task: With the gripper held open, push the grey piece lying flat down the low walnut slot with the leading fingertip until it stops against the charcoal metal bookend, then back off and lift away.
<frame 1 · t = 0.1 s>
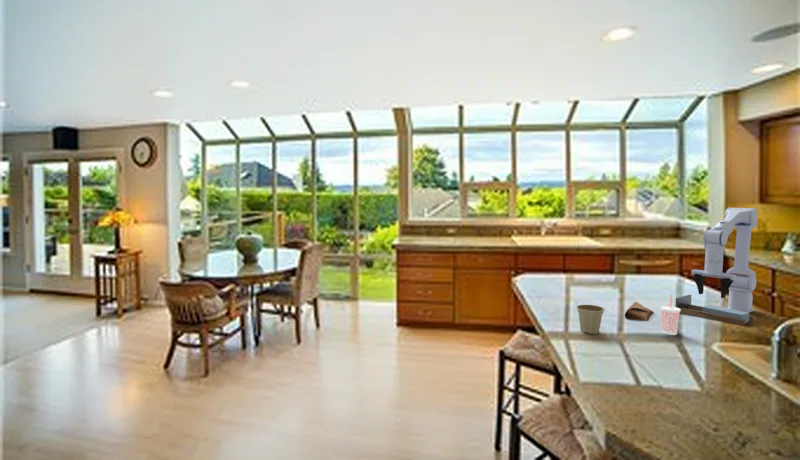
hand: (711, 295, 176), 10 cm above the counter, tool pointing down, fingers open, 7 cm apart
beverage cup: (669, 333, 162), on the counter
bookend: (683, 310, 193), on the counter
flower pot: (589, 331, 164), on the counter
sunglasses case: (639, 316, 186), on the counter
grey piece: (724, 319, 181), on the counter
shelf walls: (715, 316, 183), on the counter
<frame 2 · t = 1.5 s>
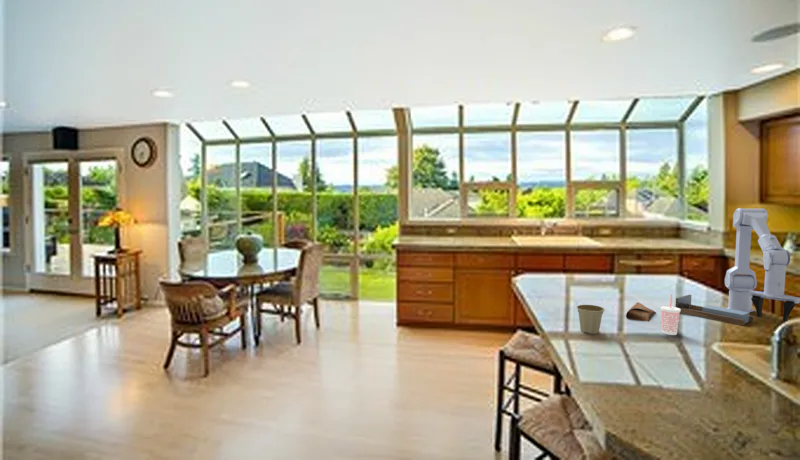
hand: (772, 318, 168), 4 cm above the counter, tool pointing down, fingers open, 7 cm apart
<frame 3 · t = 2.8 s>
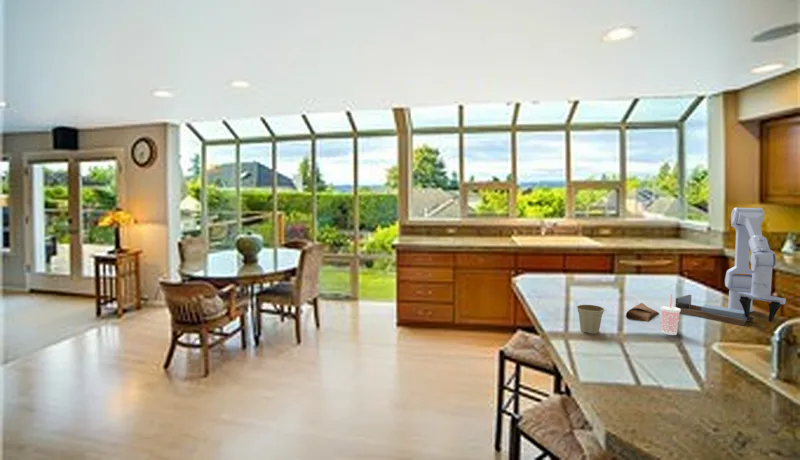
hand: (758, 319, 171), 2 cm above the counter, tool pointing down, fingers open, 7 cm apart
grey piece: (723, 318, 181), on the counter, touching gripper
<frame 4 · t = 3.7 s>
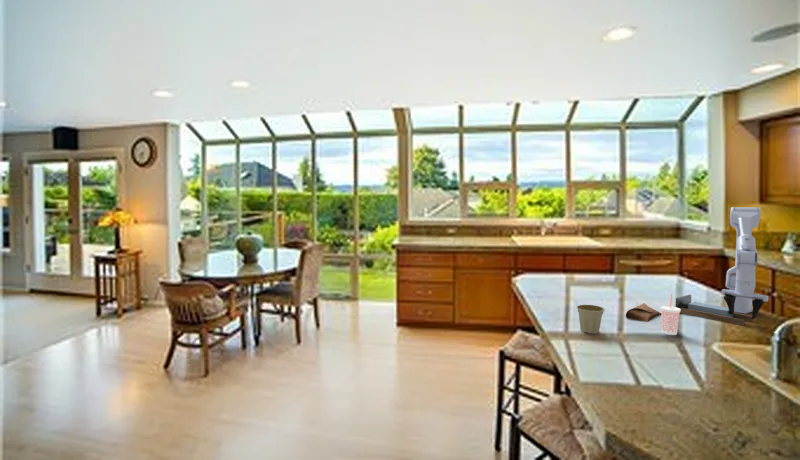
hand: (742, 316, 175), 2 cm above the counter, tool pointing down, fingers open, 7 cm apart
grey piece: (709, 315, 185), on the counter, touching gripper
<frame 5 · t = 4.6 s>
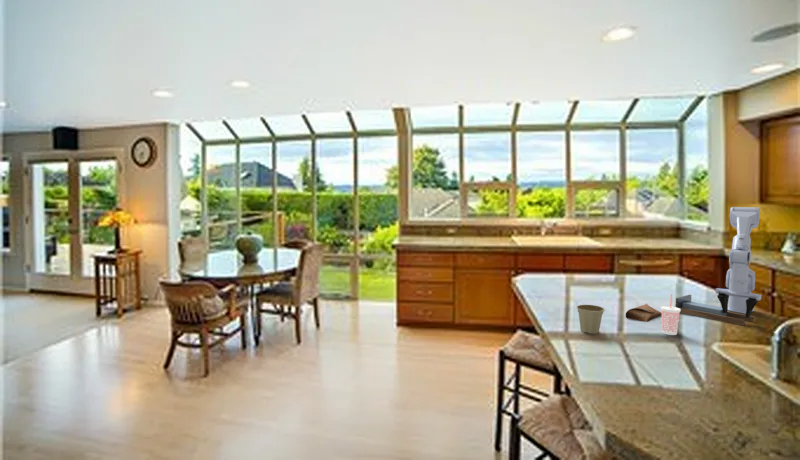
hand: (736, 314, 177), 2 cm above the counter, tool pointing down, fingers open, 7 cm apart
grey piece: (703, 315, 187), on the counter
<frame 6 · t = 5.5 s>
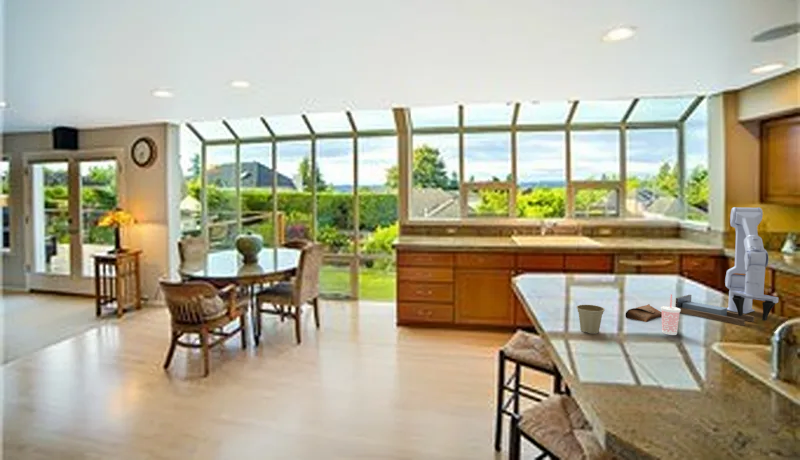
hand: (752, 317, 173), 2 cm above the counter, tool pointing down, fingers open, 7 cm apart
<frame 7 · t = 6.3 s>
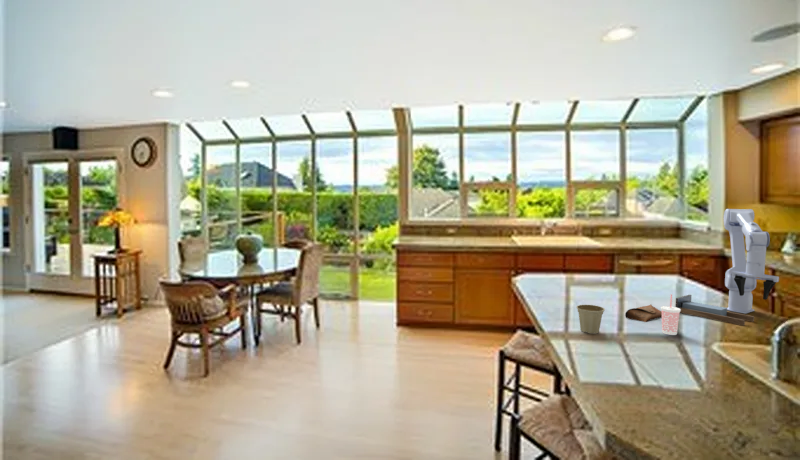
hand: (753, 297, 177), 9 cm above the counter, tool pointing down, fingers open, 7 cm apart
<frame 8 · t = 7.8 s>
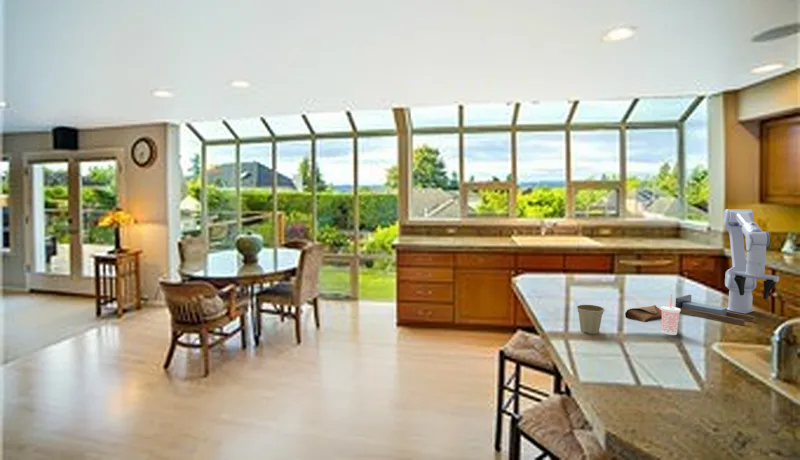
hand: (753, 296, 177), 9 cm above the counter, tool pointing down, fingers open, 7 cm apart
at the end: grey piece 1.1 cm from the target spot, on the counter; grey piece tilted 0°; grey piece moved 7.8 cm from its start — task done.
